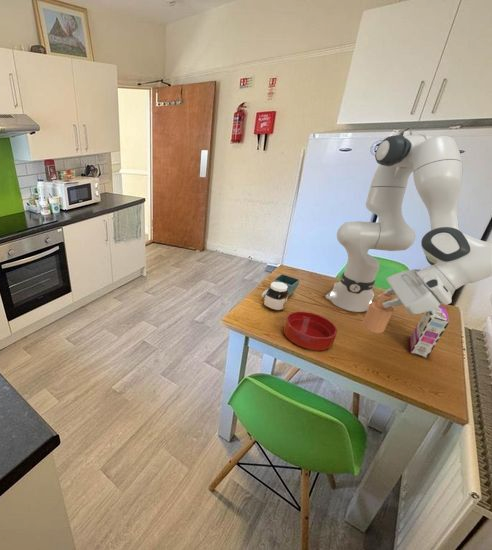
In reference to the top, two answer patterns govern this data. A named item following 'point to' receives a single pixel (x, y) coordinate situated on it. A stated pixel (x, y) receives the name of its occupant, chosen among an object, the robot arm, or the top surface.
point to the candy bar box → (428, 331)
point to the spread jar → (276, 296)
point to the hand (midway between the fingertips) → (381, 302)
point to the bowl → (310, 330)
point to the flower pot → (288, 282)
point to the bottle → (378, 315)
